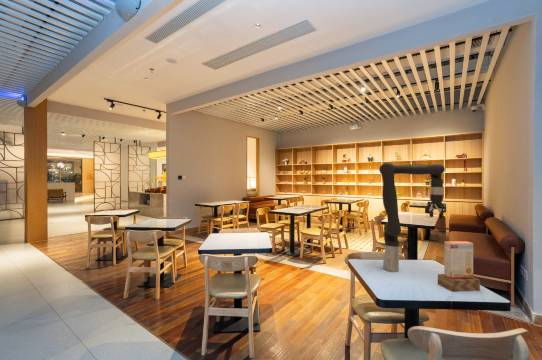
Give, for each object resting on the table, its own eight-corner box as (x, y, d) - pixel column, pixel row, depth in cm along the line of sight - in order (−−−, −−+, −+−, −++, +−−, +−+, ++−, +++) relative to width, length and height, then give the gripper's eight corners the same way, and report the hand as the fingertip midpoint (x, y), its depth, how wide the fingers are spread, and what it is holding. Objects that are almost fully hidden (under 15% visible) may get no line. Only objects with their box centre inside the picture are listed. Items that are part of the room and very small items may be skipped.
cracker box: (465, 275, 165) (466, 240, 165) (473, 278, 159) (474, 243, 159) (443, 275, 164) (444, 240, 164) (450, 278, 158) (451, 242, 158)
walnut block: (452, 291, 155) (452, 280, 155) (437, 284, 166) (437, 274, 166) (479, 290, 158) (479, 279, 158) (463, 282, 168) (463, 273, 168)
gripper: (424, 193, 189) (423, 216, 189) (439, 194, 175) (439, 219, 175) (433, 193, 190) (433, 216, 190) (450, 194, 176) (449, 219, 176)
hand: (436, 217), depth 183 cm, fingers open, 8 cm apart
